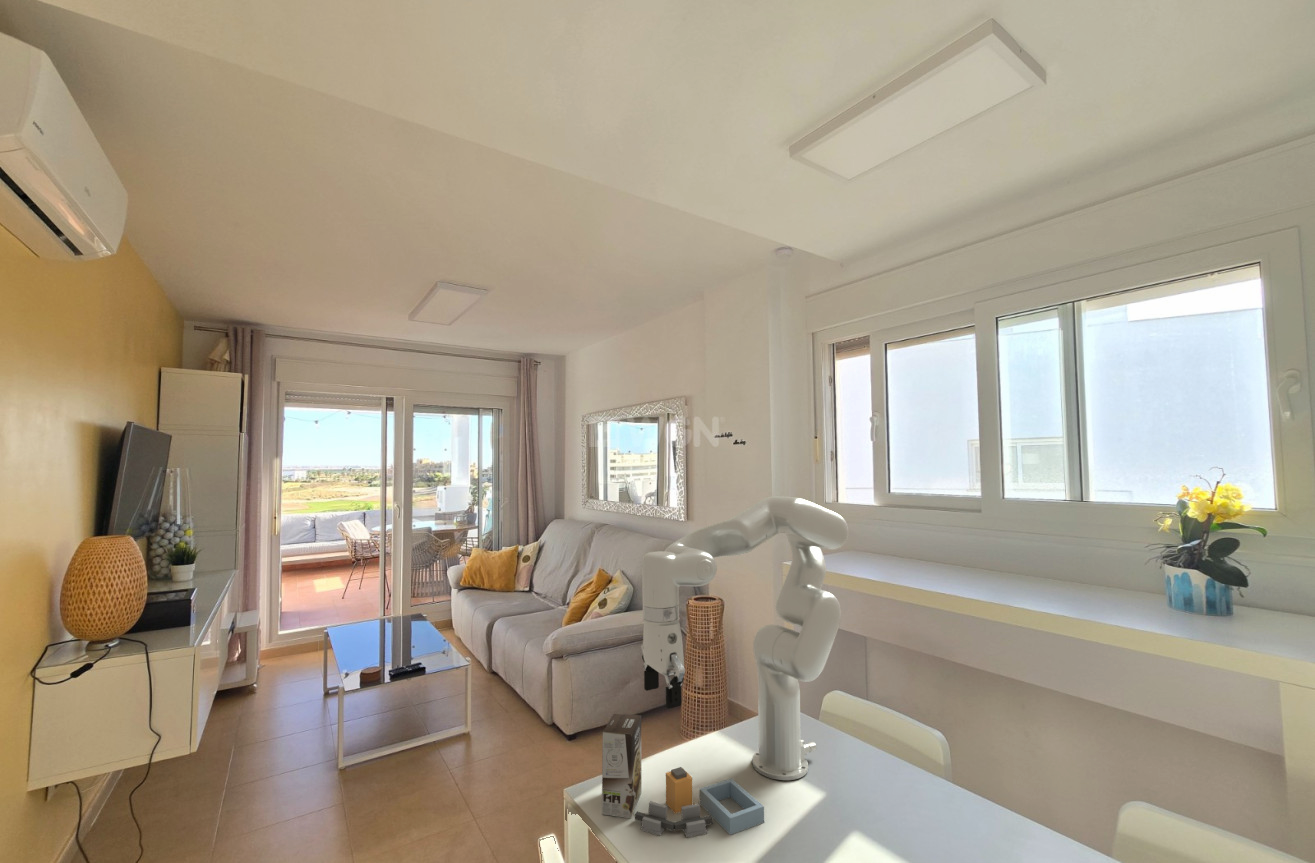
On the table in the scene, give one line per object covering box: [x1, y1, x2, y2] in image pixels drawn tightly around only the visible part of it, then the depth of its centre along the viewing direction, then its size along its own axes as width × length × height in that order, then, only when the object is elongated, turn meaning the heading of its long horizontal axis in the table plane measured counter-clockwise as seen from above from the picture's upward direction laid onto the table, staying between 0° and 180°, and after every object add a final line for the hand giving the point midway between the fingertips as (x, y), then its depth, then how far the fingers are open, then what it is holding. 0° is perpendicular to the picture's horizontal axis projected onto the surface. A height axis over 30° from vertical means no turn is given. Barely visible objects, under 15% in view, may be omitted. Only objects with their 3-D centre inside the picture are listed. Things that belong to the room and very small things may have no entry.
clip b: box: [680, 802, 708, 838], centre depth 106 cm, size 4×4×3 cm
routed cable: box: [634, 811, 714, 832], centre depth 107 cm, size 15×4×1 cm, turn 85°
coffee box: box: [601, 713, 642, 819], centre depth 115 cm, size 9×6×16 cm
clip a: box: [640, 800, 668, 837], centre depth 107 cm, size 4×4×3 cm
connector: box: [665, 766, 693, 815], centre depth 114 cm, size 4×4×7 cm
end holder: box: [698, 778, 765, 836], centre depth 111 cm, size 8×11×3 cm
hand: (662, 697), depth 114 cm, fingers open, 9 cm apart
